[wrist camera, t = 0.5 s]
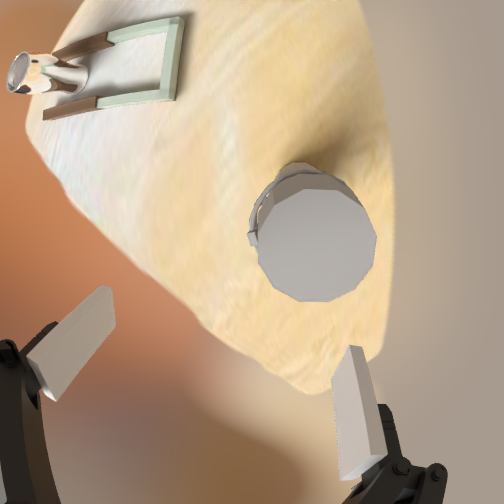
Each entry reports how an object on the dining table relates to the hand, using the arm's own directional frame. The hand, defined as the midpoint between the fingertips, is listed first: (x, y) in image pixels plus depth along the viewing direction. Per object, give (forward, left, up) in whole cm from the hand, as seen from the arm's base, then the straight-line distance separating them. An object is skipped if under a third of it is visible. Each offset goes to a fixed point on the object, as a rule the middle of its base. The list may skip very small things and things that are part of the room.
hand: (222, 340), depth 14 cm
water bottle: (-4, +4, -28) cm, 28 cm away
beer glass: (-23, -35, -28) cm, 51 cm away
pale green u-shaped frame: (-23, -21, -28) cm, 42 cm away
